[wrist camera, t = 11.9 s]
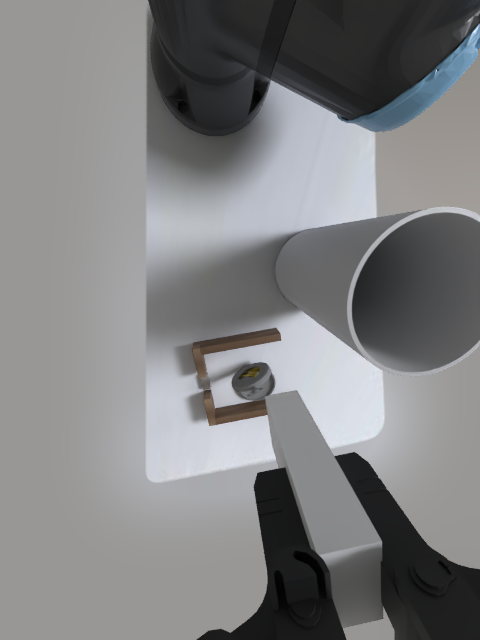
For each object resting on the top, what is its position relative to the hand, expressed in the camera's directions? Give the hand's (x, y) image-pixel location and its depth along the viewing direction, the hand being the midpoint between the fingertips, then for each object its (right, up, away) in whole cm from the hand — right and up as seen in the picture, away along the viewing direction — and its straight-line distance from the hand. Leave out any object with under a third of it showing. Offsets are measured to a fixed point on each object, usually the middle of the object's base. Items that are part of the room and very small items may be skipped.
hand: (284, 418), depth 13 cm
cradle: (-2, -5, +35) cm, 35 cm away
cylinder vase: (+10, +13, +31) cm, 35 cm away
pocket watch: (0, -5, +36) cm, 36 cm away
